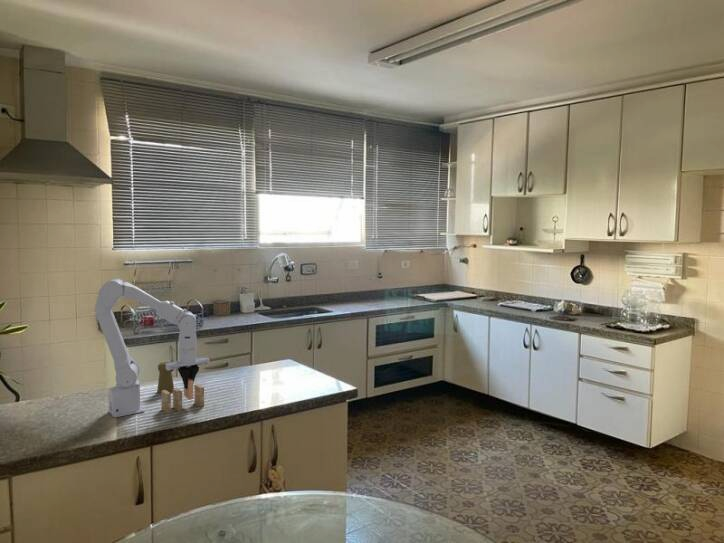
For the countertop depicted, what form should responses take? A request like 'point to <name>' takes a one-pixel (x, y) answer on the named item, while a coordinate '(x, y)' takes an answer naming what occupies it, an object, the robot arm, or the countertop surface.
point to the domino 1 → (166, 401)
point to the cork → (165, 379)
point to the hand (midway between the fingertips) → (188, 387)
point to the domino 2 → (189, 389)
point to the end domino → (199, 395)
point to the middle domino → (177, 399)
